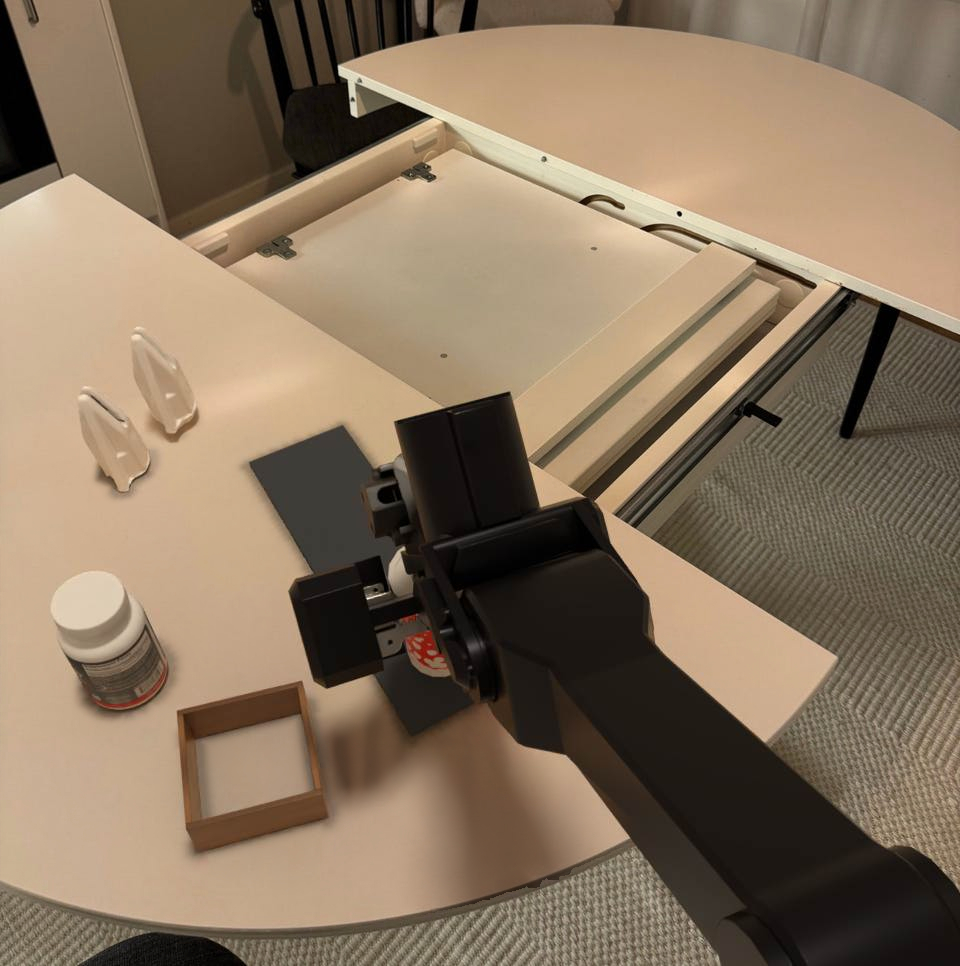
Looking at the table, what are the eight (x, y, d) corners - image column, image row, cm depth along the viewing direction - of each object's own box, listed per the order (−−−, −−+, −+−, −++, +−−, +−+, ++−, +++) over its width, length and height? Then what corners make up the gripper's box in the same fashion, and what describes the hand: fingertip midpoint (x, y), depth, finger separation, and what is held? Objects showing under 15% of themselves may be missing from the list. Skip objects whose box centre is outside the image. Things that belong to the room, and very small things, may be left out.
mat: (521, 678, 69) (521, 675, 69) (411, 737, 66) (411, 734, 66) (343, 427, 87) (342, 424, 86) (249, 464, 84) (248, 461, 83)
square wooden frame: (329, 817, 62) (322, 794, 60) (198, 851, 61) (185, 829, 58) (308, 705, 68) (302, 680, 65) (188, 735, 66) (176, 710, 64)
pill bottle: (86, 654, 71) (41, 574, 63) (165, 635, 72) (129, 554, 64) (89, 722, 67) (41, 645, 60) (172, 700, 68) (135, 622, 61)
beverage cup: (450, 702, 65) (443, 577, 55) (379, 658, 68) (360, 531, 57) (500, 639, 69) (502, 510, 58) (431, 600, 71) (422, 469, 61)
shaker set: (179, 393, 90) (149, 297, 81) (215, 408, 88) (187, 311, 80) (88, 477, 83) (44, 381, 74) (125, 494, 81) (85, 398, 73)
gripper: (617, 405, 50) (529, 421, 65) (266, 500, 46) (258, 494, 61) (668, 608, 51) (569, 578, 66) (327, 721, 47) (305, 661, 62)
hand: (430, 574), depth 64 cm, fingers closed on beverage cup, 6 cm apart
